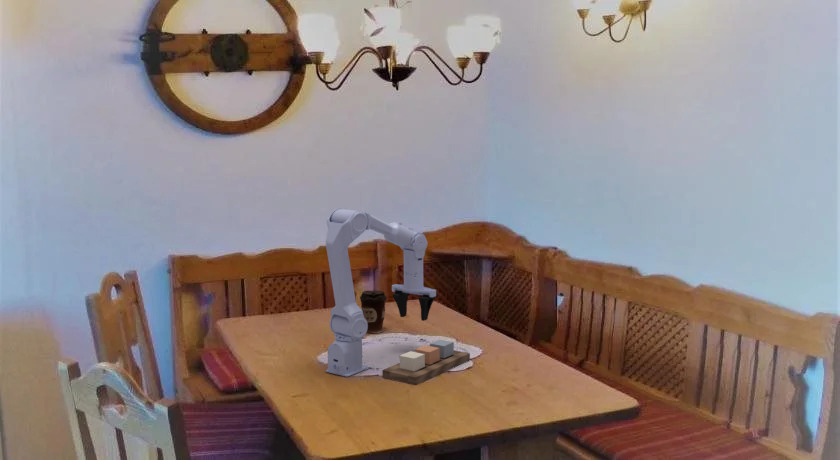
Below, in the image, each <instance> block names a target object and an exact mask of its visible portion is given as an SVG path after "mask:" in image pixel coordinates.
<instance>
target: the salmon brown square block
mask: <svg viewBox="0 0 840 460" xmlns="http://www.w3.org/2000/svg"><path fill="white" fill-rule="evenodd" d="M414 352H417V353H422V354H425V364H428V365H430V364H432V363H435V362H437V361H439V360H440V348H437V347H432V346H430V345H426V344H424V345H422V346H420V347H417V348H415V349H414Z"/></svg>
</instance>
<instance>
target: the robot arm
mask: <svg viewBox="0 0 840 460" xmlns="http://www.w3.org/2000/svg"><path fill="white" fill-rule="evenodd" d="M326 224H327V233H326V239H325V249H326V254H327V260H328V265H329V272H330V278H331V280H330V281H331V286H332V290H333V298H334V303H335V306H333V307H332V308H331V309H330V319H329V328H330V330H331V332H332V333H333V336H334V338H335V340H334V341H333V342H331V344H329V346H328V348H327V369H325V372H326V373H329V374H334V375H338V376H343V377H345V378H346V377H350V376H351V377H352V376H353V375H356V374H357V373H360V372H364V371H365V370H368V369H370V366H369V365H365V364H363V339H364V337H365V336H366V334H367V333H368V332H367V329H368V324H367V321H366V319H365V318H364V316H363V311H362V310H361V306H359V305H358V303H357V301H356V296H355V288H354V281H353V274H352V268H351V262H350V257H349V249H348V248H349V246H350V245H351V244H352V243H353V242H354V241H356V239H357V238H359V237H360V236H361V235H362V234H363V233H364V232H366V231H367V230H368V231H369V230H371V231H374V232H375V233H379V234H381V235H383V237H384V240H386V242H388V243H391V244H393V245H396V246H397V247H399V248H400V249H401V250H402V251H403V284H398V283H396V284H392V285H391V291H392V292H393V293H392V298H393V300H394V301H395V304H396V305H397V308H398V312H399V315H400V318H403V317H407V314H408V313H407V312H408V309H407V308H408V298H409V294H412V295H418V296H419V297H418V301H419V307H420V319H421V321H422V322H423V321H424V322H425V321H427V320H428V318H429V315H430V310H431V307H432V305H433V303H434V301H435V299H436V297H437V289H433V288H430V287H428V286H427V287H426V286H424V258H425V255H426V254H425V253H426V250H427V247H428V243H429V242H428V241H427V238H426V236H425V234H424V233H423V232H419V231H418V232H417V231H414V228H413V227H407V226H404V225H403V222H401V221H393V222H390V223H388V222H385V221H383V220H382V219H380V218H378V217H376V216H374V215H373V214H371V213H369V212H364V211H362V210H353V209H345V208H339V207H338V208H335V209H334V210H332V211H331V213H330V214H329V216H328V217H327V219H326Z"/></svg>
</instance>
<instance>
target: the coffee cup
mask: <svg viewBox="0 0 840 460" xmlns="http://www.w3.org/2000/svg"><path fill="white" fill-rule="evenodd" d="M387 298H388V296H387V295H386V294H385V292H384V291H383V290H375V289H374V290H363V291H362V292H361V295H360V296H359V299H360V302H361V303H360V304H361V305H360V308H361V310H362V311H363V316H364V318H365V319H366V321H367V324H368V329H367V332H366V333H369V334H370V333H371V334H374V333H375V334H379V333H383V332H384V328H383V327H384V326H383V325H384V320H385V315H386V303H387Z"/></svg>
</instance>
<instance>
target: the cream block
mask: <svg viewBox="0 0 840 460" xmlns="http://www.w3.org/2000/svg"><path fill="white" fill-rule="evenodd" d="M399 363H400V368H401V369H406V370H410V371H416V370H419V369H421V368H423V367H425V354H422V353H417V352H415V351H412V350H411V351H408V352H404V353H403V354H400V355H399Z"/></svg>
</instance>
